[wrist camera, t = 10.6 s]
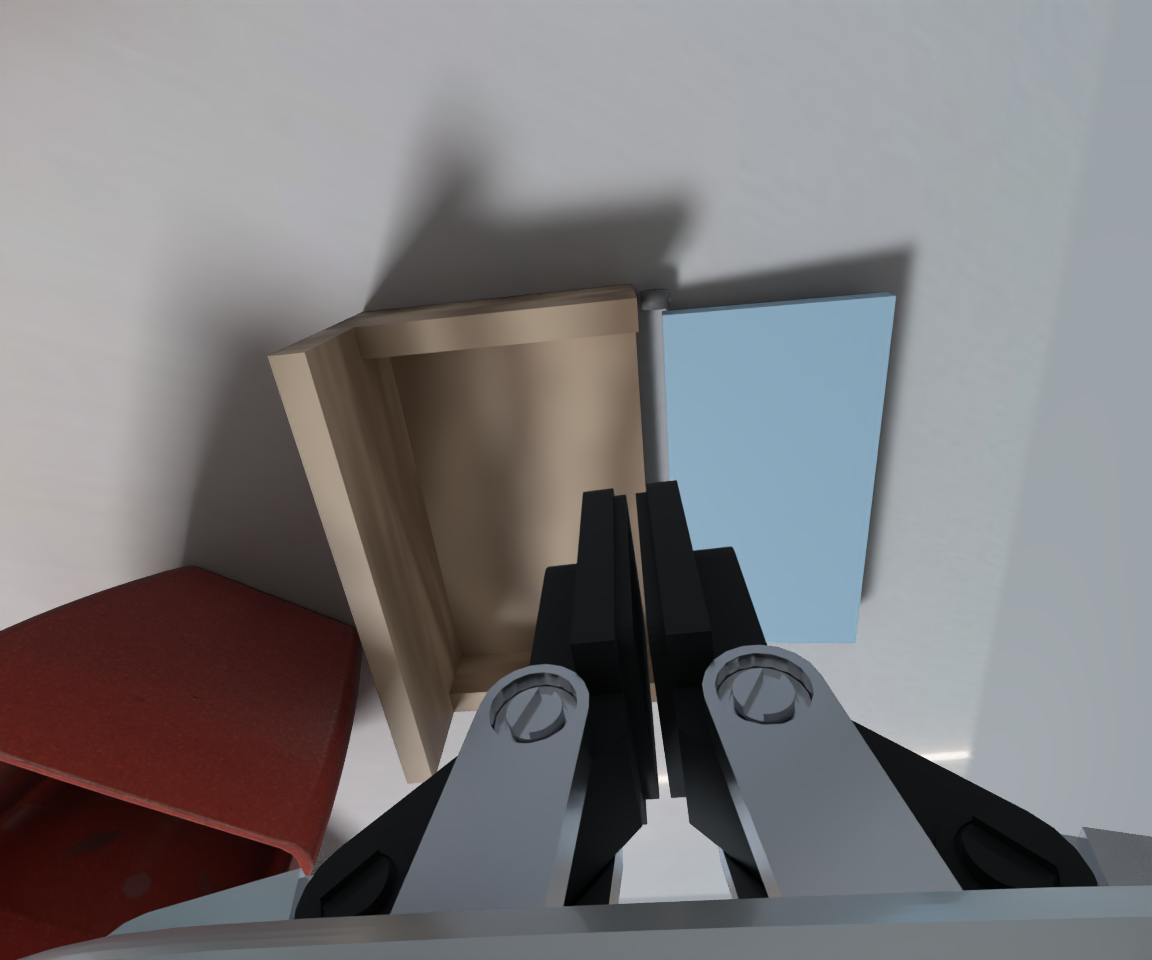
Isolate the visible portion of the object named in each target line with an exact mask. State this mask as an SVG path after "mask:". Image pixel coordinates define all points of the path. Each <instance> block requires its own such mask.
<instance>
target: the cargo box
mask: <svg viewBox="0 0 1152 960" xmlns="http://www.w3.org/2000/svg"><path fill="white" fill-rule="evenodd" d="M667 307H669V300H668V290H667V289H654V290H646V291H642V292H641V309H642V310H658V309H664V308H667ZM636 332H639V326H638V310H637V297H636V295H635V292H634V289H633V287H632V284H625V285H615V286H606V287H596V288H587V289H577V290H568V291H558V292H549V293H539V294H530V295H521V296H511V297H502V298H492V299H483V300H473V301H464V302H454V303H445V304H435V305H426V306H416V307H407V308H397V309H388V310H378V311H369V312H361V313H359V314H357V315H355V316H353V317H351V318H348V319H346V320H344V321H342V322H340V323H338V324H336V325H333V326H331V327H329V328H327V329H325V330H323V331H320V332H318V333H316V334H314V335H312V336H310V337H308V338H305V339H303V340H301V341H299V342H297V343H295V344H293V345H290V346H288V347H286V348H284V349H282V350H280V351H277V352H275V353H273V354H271V355H269V356H267V357H268V360H269V363H270V366H271V369H272V372H273V375H274V378H275V381H276V384H277V387H278V390H279V393H280V396H281V399H282V402H283V405H284V408H285V412H286V415H287V418H288V421H289V424H290V427H291V430H292V433H293V436H294V439H295V442H296V445H297V448H298V451H299V454H300V457H301V460H302V463H303V466H304V469H305V473H306V476H307V479H308V482H309V485H310V488H311V491H312V494H313V497H314V500H315V503H316V506H317V509H318V512H319V515H320V518H321V521H322V524H323V527H324V530H325V534H326V537H327V540H328V543H329V546H330V549H331V552H332V555H333V558H334V561H335V564H336V567H337V570H338V573H339V576H340V579H341V582H342V585H343V588H344V591H345V595H346V598H347V601H348V604H349V607H350V610H351V613H352V616H353V619H354V622H355V625H356V628H357V631H358V634H359V637H360V640H361V643H362V646H363V649H364V652H365V655H366V659H367V662H368V665H369V668H370V671H371V674H372V677H373V680H374V683H375V686H376V689H377V692H378V695H379V698H380V701H381V704H382V707H383V710H384V713H385V716H386V720H387V723H388V726H389V729H390V732H391V735H392V738H393V741H394V744H395V747H396V750H397V753H398V756H399V759H400V762H401V765H402V768H403V771H404V774H405V777H406V781H407V783H424V782H425V781H426V780H427V779H429V778H430V777H431V776H432V775H434V774H435V773H436V772H437V769H438V766H439V762H440V759H441V755H442V752H443V748H444V745H445V741H446V738H447V734H448V731H449V727H450V724H451V720H452V717H453V713H454V712H461V711H477V710H478V708H479V705H480V703H481V701H482V700H483V698H484V697H485V695H486V693H487V692H488V690H489V689H490V688H491V687H493V686H494V685H495V684H496V683H497V682H498V681H499V680H500V679H502V678H503V677H505V676H507V675H508V674H510V673H512V672H514V671H516V670H519V669H522V668H525V667H528V666H529V664H530V658H531V652H532V646H533V640H534V634H535V628H536V622H537V616H538V610H539V604H540V598H541V592H542V586H543V580H544V574H545V570H546V568H547V567H549V566H558V565H567V564H576V563H577V555H578V544H579V532H580V520H581V509H582V497H583V492H586V491H594V490H602V489H610V488H613V489H614V494H615V496H617V495H626V497H627V504H628V510H629V517H630V524H631V531H632V538H633V545H634V551H635V558H636V565H637V572H638V579H639V586H640V593H641V599H642V606H643V613H644V621H645V630H646V641H647V653H648V665H649V677H650V689H651V701H652V702H657V697H656V690H655V683H654V676H653V670H652V663H651V656H650V648H649V640H648V631H647V622H646V610H645V599H644V587H643V575H642V564H641V552H640V541H639V529H638V517H637V506H636V494H635V493H642V492H646V488H645V472H644V457H643V441H642V425H641V409H640V393H639V377H638V361H637V345H636Z"/></svg>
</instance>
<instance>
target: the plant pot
mask: <svg viewBox="0 0 1152 960" xmlns="http://www.w3.org/2000/svg"><path fill="white" fill-rule="evenodd" d="M361 659H362V643H361V640H360V637H359V634H358V632H357V631H356V630H355V629H354V628H352V627H350V626H348V625H345V624H343V623H340V622H338V621H335V620H333V619H330V618H328V617H325V616H322V615H320V614H317V613H314V612H312V611H309V610H306V609H304V608H301V607H299V606H296V605H294V604H291V603H288V602H286V601H283V600H281V599H278V598H275V597H273V596H270V595H268V594H265V593H262V592H260V591H257V590H255V589H252V588H249V587H247V586H244V585H242V584H239V583H237V582H234V581H231V580H229V579H226V578H224V577H221V576H218V575H216V574H213V573H211V572H208V571H205V570H203V569H200V568H197V567H193V566H186V567H181V568H177V569H173V570H168V571H164V572H161V573H158V574H154V575H151V576H148V577H145V578H141V579H138V580H134V581H131V582H128V583H125V584H122V585H119V586H116V587H113V588H110V589H107V590H104V591H101V592H98V593H95V594H92V595H89V596H86V597H84V598H81V599H78V600H75V601H73V602H70V603H67V604H65V605H62V606H59V607H57V608H54V609H52V610H49V611H47V612H44V613H42V614H39V615H37V616H34V617H32V618H29V619H27V620H25V621H22V622H20V623H18V624H15V625H13V626H11V627H8V628H6V629H4V630H1V631H0V960H18V959H21V958H24V957H27V956H30V955H34V954H37V953H40V952H43V951H46V950H49V949H53V948H57V947H61V946H66V945H70V944H75V943H79V942H84V941H89V940H93V939H98V938H102V937H106V936H108V935H109V934H110V933H112V932H113V931H114V930H116V929H117V928H119V927H120V926H121V925H123V924H124V923H126V922H128V921H130V920H132V919H135V918H137V917H139V916H141V915H143V914H146V913H148V912H151V911H155V910H158V909H162V908H165V907H169V906H172V905H175V904H179V903H182V902H186V901H189V900H193V899H196V898H199V897H203V896H206V895H210V894H213V893H217V892H220V891H223V890H227V889H230V888H234V887H237V886H241V885H244V884H247V883H251V882H254V881H258V880H261V879H265V878H268V877H272V876H275V875H278V874H282V873H285V872H289V871H292V870H296V869H299V868H301V869H302V871H303V872H304V874H305V876H309V875H310V874H311V872H312V870H313V867H314V864H315V862H316V859H317V856H318V853H319V850H320V847H321V844H322V841H323V837H324V834H325V831H326V828H327V825H328V821H329V818H330V815H331V811H332V808H333V804H334V800H335V797H336V793H337V789H338V786H339V782H340V778H341V774H342V770H343V766H344V762H345V758H346V753H347V749H348V745H349V740H350V735H351V730H352V725H353V720H354V714H355V709H356V702H357V696H358V688H359V680H360V670H361Z"/></svg>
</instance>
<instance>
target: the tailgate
mask: <svg viewBox="0 0 1152 960" xmlns="http://www.w3.org/2000/svg"><path fill="white" fill-rule="evenodd" d="M895 301H896V296H895V295H893V294H891V293H888V292H883V293H871V294H859V295H848V296H836V297H824V298H813V299H801V300H789V301H777V302H766V303H754V304H742V305H730V306H719V307H707V308H695V309H684V310H672V311H662V319H663V342H664V365H665V388H666V411H667V434H668V457H669V480H670V481H674V480H677V483H678V487H679V491H680V496H681V500H682V504H683V509H684V513H685V517H686V522H687V526H688V530H689V535H690V539H691V543H692V548H693V551H694V550H703V549H712V548H721V547H730V546H732V547H733V549H734V551H735V553H736V556H737V559H738V562H739V565H740V568H741V571H742V574H743V577H744V579H745V582H746V585H747V588H748V591H749V594H750V597H751V600H752V603H753V606H754V608H755V611H756V614H757V617H758V620H759V623H760V626H761V629H762V632H763V635H764V637H765V640H766V643H855V641H856V633H857V624H858V616H859V607H860V599H861V590H862V582H863V573H864V565H865V556H866V548H867V539H868V531H869V522H870V514H871V505H872V497H873V488H874V480H875V471H876V463H877V454H878V446H879V437H880V429H881V420H882V412H883V403H884V395H885V386H886V378H887V369H888V361H889V352H890V344H891V335H892V327H893V318H894V310H895Z"/></svg>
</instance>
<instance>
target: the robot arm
mask: <svg viewBox="0 0 1152 960" xmlns="http://www.w3.org/2000/svg"><path fill="white" fill-rule="evenodd" d="M635 494H636V506H637V517H638V529H639V541H640V552H641V564H642V575H643V587H644V599H645V610H646V622H647V631H648V640H649V648H650V656H651V663H652V670H653V676H654V683H655V690H656V697H657V704H658V711H659V718H660V725H661V731H662V738H663V745H664V752H665V759H666V766H667V773H668V780H669V786H670V793H671V798H677V797H686V799H687V807H688V814H689V822H690V824H691V825H693V826H694V827H695V828H696V829H698V830H699V831H700V832H701V833H703V834H704V835H705V836H706V837H708V838H709V839H710V840H711V841H713V842H714V843H715V844H716V845H718V849H719V855H720V861H721V865H722V868H723V871H724V874H725V878H726V881H727V884H728V887H729V890H730V893H731V897H732V899H730V900H706V901H705V900H704V901H680V902H656V903H634V904H618V903H619V895H620V887H621V879H622V871H623V852H622V847H623V846H624V845H625V844H626V843H627V842H628V841H629V840H630V839H631V837H632V836H633V835H634V834H635V833H636V832H637V831H638V830H639V829H640V828H641V827H642V825H644V824H647V814H646V799H659V786H658V774H657V762H656V750H655V738H654V725H653V713H652V701H651V689H650V677H649V665H648V653H647V641H646V630H645V621H644V613H643V606H642V599H641V593H640V586H639V579H638V572H637V565H636V558H635V551H634V545H633V538H632V531H631V524H630V517H629V510H628V504H627V497H626V495H617V496H615V494H614V489H613V488H610V489H602V490H594V491H586V492H583V497H582V509H581V520H580V532H579V544H578V555H577V563H576V564H567V565H558V566H549V567H547V568H546V570H545V574H544V580H543V586H542V592H541V598H540V604H539V610H538V616H537V622H536V628H535V634H534V640H533V646H532V652H531V658H530V664H529V666H528V667H525V668H522V669H519V670H516V671H514V672H512V673H510V674H508V675H507V676H505V677H503V678H502V679H500V680H499V681H498V682H497V683H496V684H495V685H494V686H493V687H491V688H490V689H489V690H488V692H487V693H486V695H485V697H484V698H483V700H482V701H481V703H480V705H479V708H478V710H477V712H476V715H475V717H474V719H473V722H472V724H471V726H470V729H469V731H468V733H467V736H466V738H465V740H464V743H463V745H462V747H461V750H460V752H459V754H458V756H457V757H455V758H454V759H453V760H452V761H450V762H449V763H448V764H447V765H445V766H444V767H443V768H441V769H440V770H439V771H438V772H436V773H435V774H434V775H432V776H431V777H430V778H429V779H427V780H426V781H425V782H424V783H422V784H421V785H420V786H418V787H417V788H416V789H415V790H413V791H412V792H411V793H409V794H408V795H407V796H406V797H404V798H403V799H402V800H401V801H399V802H398V803H397V804H395V805H394V806H393V807H392V808H390V809H389V810H388V811H386V812H385V813H384V814H383V815H381V816H380V817H379V818H378V819H376V820H375V821H374V822H372V823H371V824H370V825H369V826H367V827H366V828H365V829H363V830H362V831H361V832H360V833H358V834H357V835H356V836H355V837H353V838H352V839H351V840H349V841H348V842H347V843H346V844H344V845H343V846H342V847H340V848H339V849H338V850H337V851H336V852H335V853H334V854H333V855H331V856H330V857H329V858H328V859H327V860H326V861H325V862H324V863H323V864H322V865H321V866H320V867H319V868H318V870H317V871H316V873H315V874H313V875H309V876H305V874H304V872H303V871H302V869H301V868H299V869H296V870H292V871H289V872H285V873H282V874H278V875H275V876H272V877H268V878H265V879H261V880H258V881H254V882H251V883H247V884H244V885H241V886H237V887H234V888H230V889H227V890H223V891H220V892H217V893H213V894H210V895H206V896H203V897H199V898H196V899H193V900H189V901H186V902H182V903H179V904H175V905H172V906H169V907H165V908H162V909H158V910H155V911H151V912H148V913H146V914H143V915H141V916H139V917H137V918H135V919H132V920H130V921H128V922H126V923H124V924H123V925H121V926H120V927H119V928H117V929H116V930H114V931H113V932H112V933H110V934H109V935H108V936H106V937H102V938H98V939H93V940H89V941H84V942H79V943H75V944H70V945H66V946H61V947H57V948H53V949H49V950H46V951H43V952H40V953H37V954H34V955H30V956H27V957H24V958H21V959H18V960H1152V837H1150V836H1143V835H1136V834H1129V833H1122V832H1115V831H1108V830H1101V829H1094V828H1087V827H1082V829H1081V832H1080V835H1079V837H1075V836H1068V835H1061V834H1060V833H1059V832H1058V831H1056V830H1055V829H1054V828H1053V827H1051V826H1050V825H1048V824H1047V823H1045V822H1044V821H1042V820H1040V819H1039V818H1037V817H1036V816H1034V815H1033V814H1031V813H1029V812H1028V811H1026V810H1024V809H1022V808H1020V807H1018V806H1016V805H1014V804H1012V803H1011V802H1009V801H1007V800H1004V799H1003V798H1001V797H999V796H997V795H995V794H993V793H991V792H989V791H987V790H985V789H983V788H982V787H980V786H978V785H976V784H974V783H972V782H970V781H968V780H966V779H964V778H962V777H960V776H958V775H956V774H955V773H953V772H951V771H949V770H947V769H945V768H943V767H941V766H939V765H937V764H935V763H933V762H931V761H929V760H927V759H926V758H924V757H922V756H920V755H918V754H916V753H914V752H912V751H910V750H908V749H906V748H904V747H902V746H900V745H899V744H897V743H895V742H893V741H891V740H889V739H887V738H885V737H883V736H881V735H879V734H877V733H875V732H873V731H871V730H870V729H868V728H866V727H864V726H862V725H860V724H858V723H856V722H854V721H852V720H851V719H850V718H849V716H848V715H847V713H846V712H845V710H844V709H843V707H842V706H841V704H840V703H839V701H838V699H837V698H836V696H835V695H834V693H833V692H832V690H831V689H830V687H829V686H828V684H827V683H826V681H825V680H824V678H823V677H822V675H821V674H820V673H819V672H818V671H817V670H816V668H815V667H814V666H813V665H812V664H811V663H810V662H809V661H807V660H805V659H804V658H802V657H801V656H799V655H797V654H796V653H794V652H791V651H788V650H785V649H782V648H779V647H774V646H767V643H766V640H765V637H764V635H763V632H762V629H761V626H760V623H759V620H758V617H757V614H756V611H755V608H754V606H753V603H752V600H751V597H750V594H749V591H748V588H747V585H746V582H745V579H744V577H743V574H742V571H741V568H740V565H739V562H738V559H737V556H736V553H735V551H734V549H733V547H732V546H730V547H721V548H712V549H703V550H694V551H693V548H692V543H691V539H690V535H689V530H688V526H687V522H686V517H685V513H684V509H683V504H682V500H681V496H680V491H679V487H678V483H677V480H674V481H666V482H658V483H650V484H647V492H642V493H635Z"/></svg>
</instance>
